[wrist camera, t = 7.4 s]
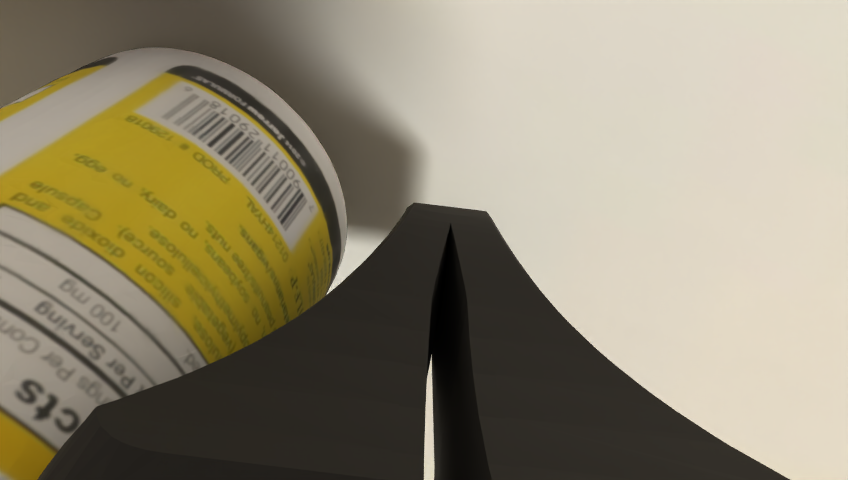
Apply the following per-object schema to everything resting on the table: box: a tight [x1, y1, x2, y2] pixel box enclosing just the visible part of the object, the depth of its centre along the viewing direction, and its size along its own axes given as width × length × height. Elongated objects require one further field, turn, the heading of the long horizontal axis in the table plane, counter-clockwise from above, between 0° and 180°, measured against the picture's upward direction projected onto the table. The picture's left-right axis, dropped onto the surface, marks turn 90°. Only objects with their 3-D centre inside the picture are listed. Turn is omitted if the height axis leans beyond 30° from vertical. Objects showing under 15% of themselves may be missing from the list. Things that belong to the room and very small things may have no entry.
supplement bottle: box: [0, 48, 347, 480], centre depth 7 cm, size 5×5×10 cm
